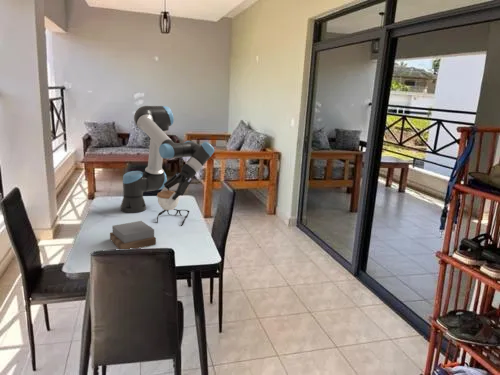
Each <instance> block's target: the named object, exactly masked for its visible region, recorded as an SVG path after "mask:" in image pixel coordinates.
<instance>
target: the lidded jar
mask: <svg viewBox="0 0 500 375" xmlns="http://www.w3.org/2000/svg"><path fill="white" fill-rule="evenodd" d="M161 191H162V190H161ZM161 191H160V192H157V195H156V196H158V198H157V202H158V205H159V206H160V208H161V209H162V210H168V211H172V210H173V209H175V208H176V207H177V206H179V202H180V196H178V197H177V198H176V200H175V201H174V202H173V203H172V204H171V205H170V206H169V205H168V204H167V203H166V202H167V200H168V199H169V198H170V197H171V196H172V194H173V193H174V192H175V191H176V190H175V191H174V190H170V189H169V190H167V191H162V192H161ZM175 193H176V192H175Z"/></svg>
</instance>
